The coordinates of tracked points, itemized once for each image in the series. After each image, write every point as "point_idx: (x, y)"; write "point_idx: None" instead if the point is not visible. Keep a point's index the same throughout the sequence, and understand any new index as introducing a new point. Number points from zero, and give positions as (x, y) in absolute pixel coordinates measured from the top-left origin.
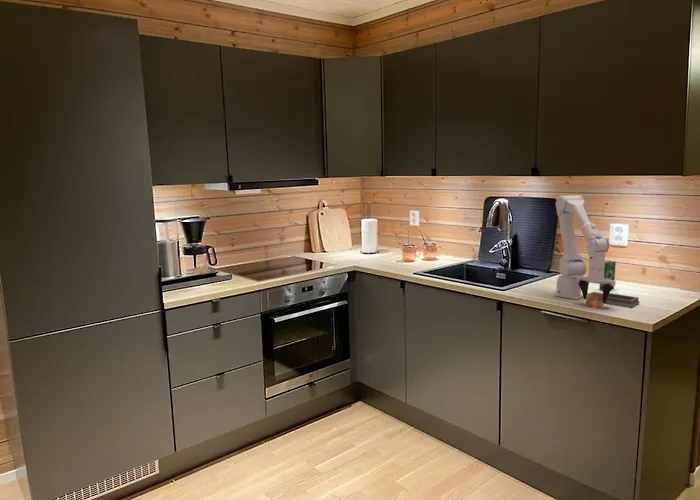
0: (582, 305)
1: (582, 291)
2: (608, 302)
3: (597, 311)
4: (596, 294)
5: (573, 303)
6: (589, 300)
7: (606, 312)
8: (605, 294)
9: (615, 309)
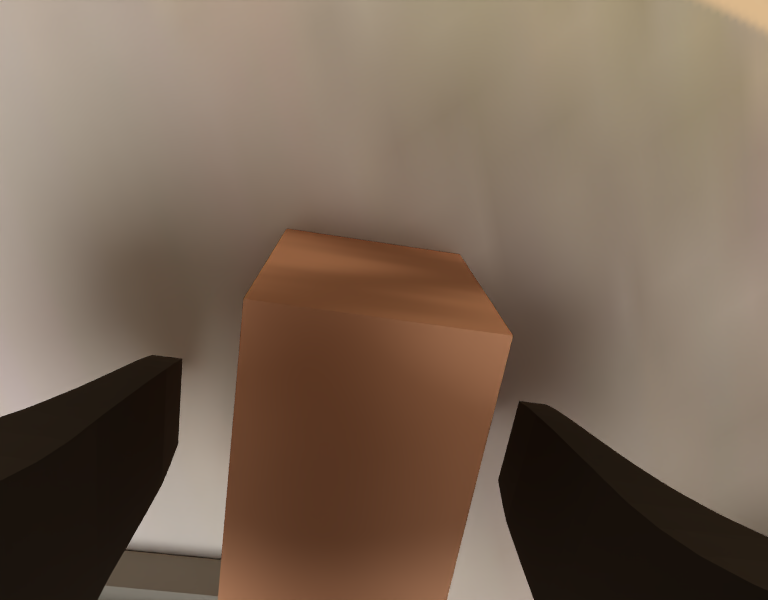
0: (520, 290)
1: (647, 483)
2: (199, 579)
3: (193, 5)
4: (307, 489)
5: (670, 336)
6: (413, 280)
7: (34, 27)
8: (17, 418)
9: (5, 329)
